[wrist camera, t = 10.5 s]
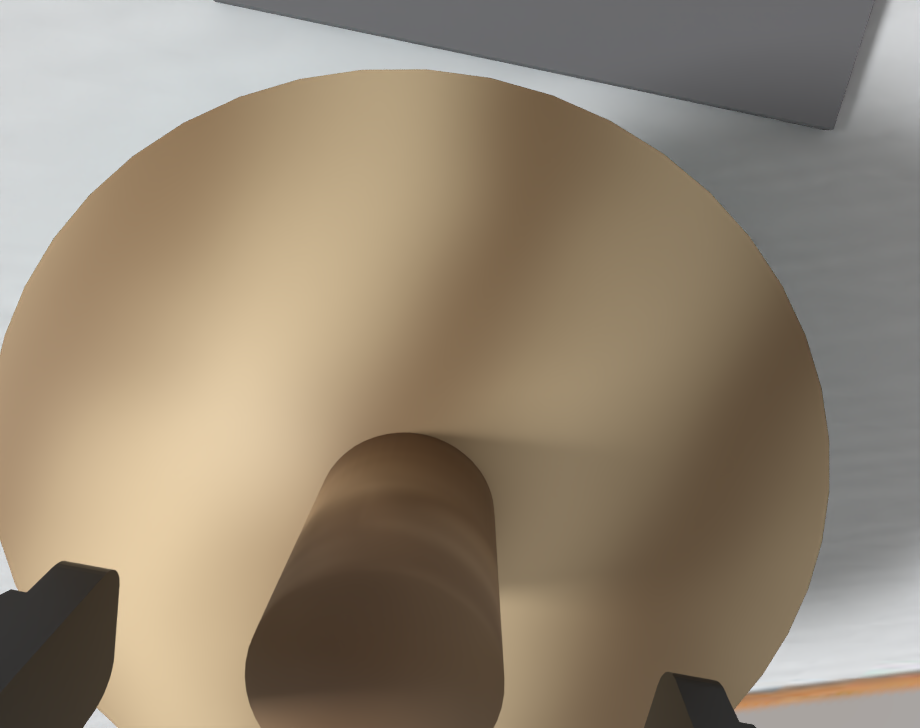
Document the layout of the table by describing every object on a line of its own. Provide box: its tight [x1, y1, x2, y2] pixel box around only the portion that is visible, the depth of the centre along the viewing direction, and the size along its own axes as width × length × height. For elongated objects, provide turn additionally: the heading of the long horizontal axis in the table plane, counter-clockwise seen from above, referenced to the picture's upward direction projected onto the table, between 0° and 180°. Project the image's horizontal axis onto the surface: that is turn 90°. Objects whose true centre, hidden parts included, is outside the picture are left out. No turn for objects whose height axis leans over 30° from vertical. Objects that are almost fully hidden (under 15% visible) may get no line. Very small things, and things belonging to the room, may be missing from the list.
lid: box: [0, 70, 829, 728], centre depth 13 cm, size 17×17×6 cm
